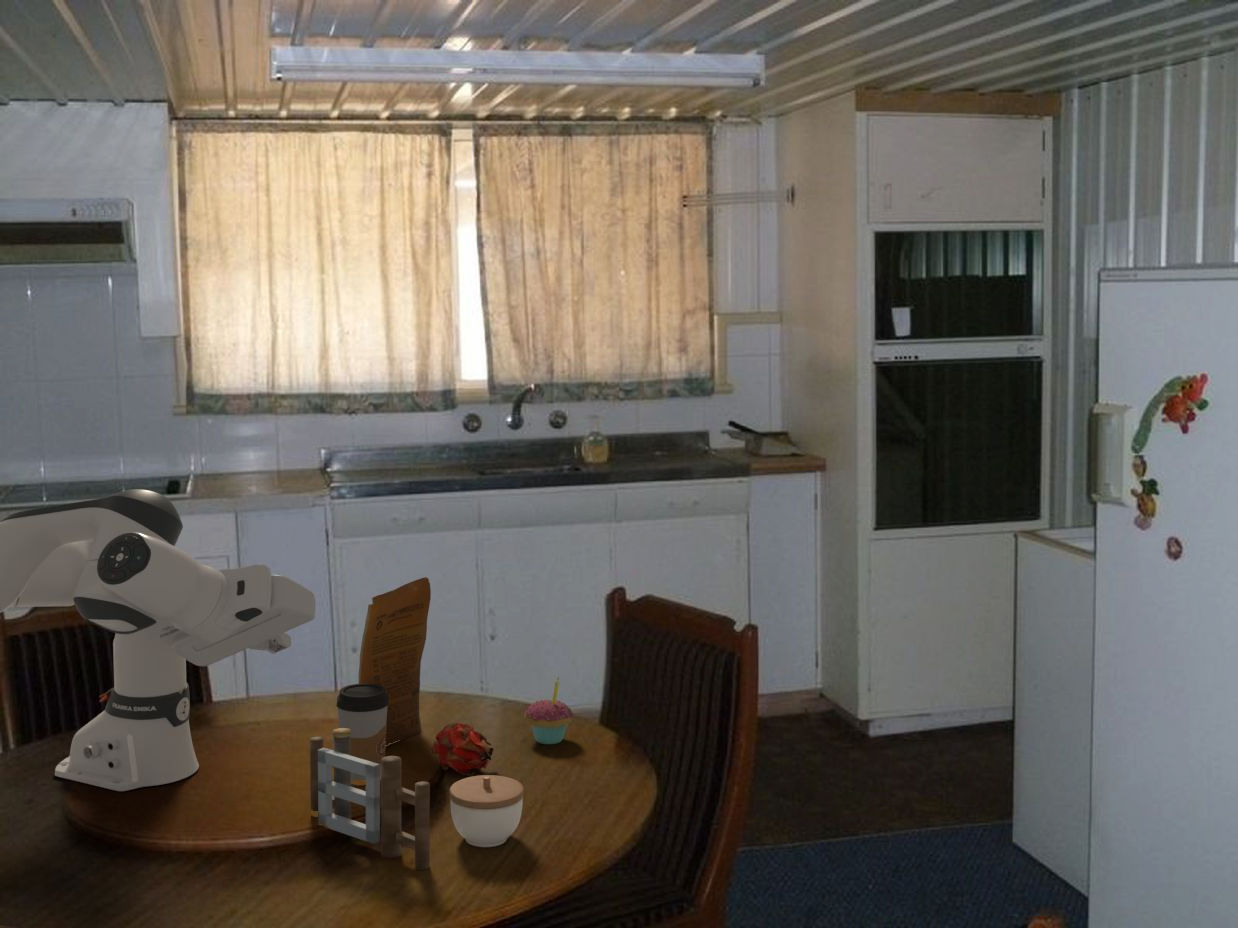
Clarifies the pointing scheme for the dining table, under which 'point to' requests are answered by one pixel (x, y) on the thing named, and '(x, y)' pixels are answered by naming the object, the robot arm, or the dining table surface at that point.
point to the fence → (389, 801)
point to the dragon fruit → (462, 748)
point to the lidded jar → (486, 808)
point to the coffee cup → (364, 721)
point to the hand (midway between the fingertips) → (283, 645)
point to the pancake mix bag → (397, 653)
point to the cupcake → (549, 719)
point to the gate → (349, 794)
